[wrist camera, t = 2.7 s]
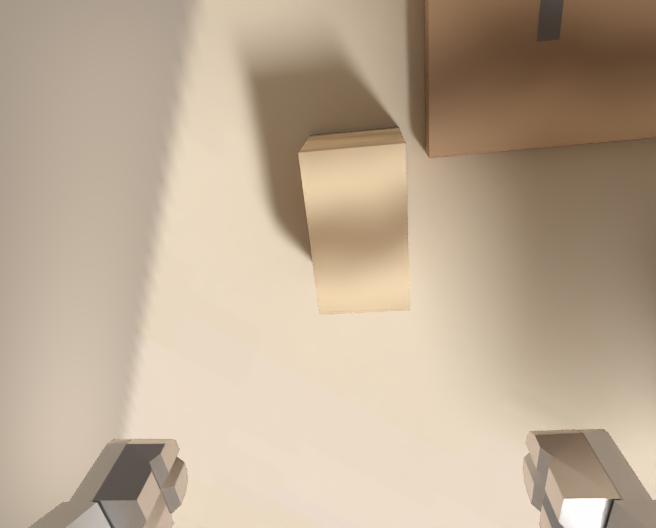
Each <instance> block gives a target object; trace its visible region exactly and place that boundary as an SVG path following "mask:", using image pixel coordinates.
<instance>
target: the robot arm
mask: <svg viewBox="0 0 656 528" xmlns="http://www.w3.org/2000/svg"><path fill="white" fill-rule="evenodd" d="M526 445H527V448H528V450H529V452H530V453H528V454H527V455H526V456H525V457H524V461H523V474H524V482H525V486H526V490H527V493H528V496H529V499H530V502H531V504H532V505H533V506H534V507H536V508H537V509H538V510H539V511H540V512H541V515H540V522H539V526H540V528H656V500H652V498H651V497H650V495H649V494H648V492H647V491H646V489H645V488H644V486H643V485H642V483H641V482H640V480H639V479H638V477H637V476H636V474H635V472H634V471H633V469H632V468H631V466H630V465H629V463H628V462H627V460H626V459H625V457H624V456H623V454H622V453H621V451H620V450H619V448H618V447H617V445H616V444H615V442H614V441H613V439H612V438H611V436H610V435H609V433H608V432H606V431H605V430H604V429H590V430H546V431H529V433H528V434H527V438H526ZM179 450H180V449H179V447H178V444H177V442H176V440H173V439H113V440H112V441H110V442H109V443H108V444H107V445H106V446H105V448H104V449H103V451H102V452H101V454H100V455H99V457H98V458H97V460H96V461H95V463H94V464H93V466H92V468H91V469H90V470H89V472H88V473H87V475H86V477H85V478H84V480H83V481H82V483H81V484H80V486H79V487H78V489H77V490H76V492H75V493H74V495H73V496H72V498H71V499H70V501H69V502H62V503H61V504H59V505H58V506H57V507H55V508H54V509H53V510H51V511H50V512H49V513H47V514H46V515H45V516H43V517H42V518H41V519H39V520H38V521H37V522H35V523H34V524H33V525H31V526H30V527H29V528H172V527H173V524H174V522H173V519H172V515H171V514H172V513H173V512H174V511H175V510H176V509H177V508H178V507H179V506H180V505H181V504H182V501H183V499H184V496H185V493H186V488H187V482H188V474H187V468H186V465H185V462H183V461H182V460H181V459H179V458H178V457H177V454H178V452H179Z"/></svg>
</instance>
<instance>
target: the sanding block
mask: <svg viewBox="0 0 656 528" xmlns="http://www.w3.org/2000/svg"><path fill="white" fill-rule="evenodd" d="M298 156H299V164H300V171H301V179H302V187H303V194H304V202H305V209H306V217H307V224H308V232H309V239H310V247H311V254H312V262H313V269H314V277H315V284H316V292H317V299H318V307H319V314H340V313H363V312H386V311H408V310H410V300H409V258H408V217H407V175H406V143H405V140H404V138H403V136H402V134H401V131H400V129H399V127H393V128H383V129H372V130H362V131H351V132H341V133H330V134H320V135H310V136H309V138H308V139H307V141H306V142H305V144H304V145H303V146H302V148H301V149H300V151H299V152H298Z"/></svg>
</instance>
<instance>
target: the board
mask: <svg viewBox="0 0 656 528" xmlns="http://www.w3.org/2000/svg"><path fill="white" fill-rule="evenodd" d="M425 112H426V153H427V155H428V157H429V158H435V157H446V156H457V155H468V154H479V153H490V152H501V151H512V150H523V149H534V148H545V147H556V146H567V145H578V144H589V143H600V142H611V141H622V140H633V139H644V138H655V137H656V0H425Z"/></svg>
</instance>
